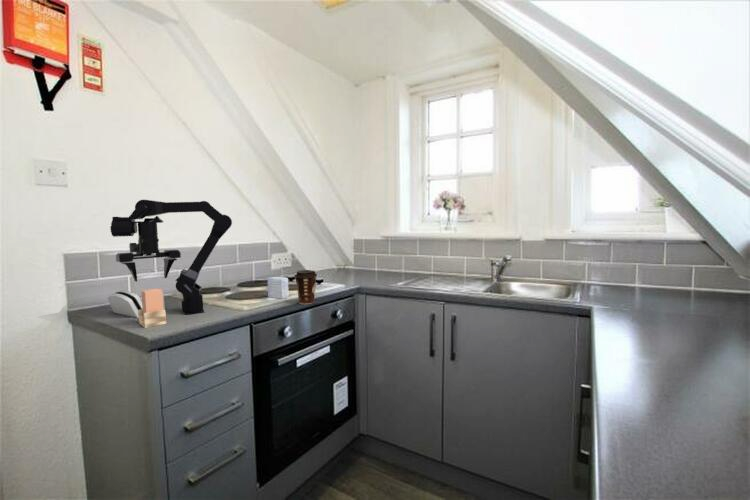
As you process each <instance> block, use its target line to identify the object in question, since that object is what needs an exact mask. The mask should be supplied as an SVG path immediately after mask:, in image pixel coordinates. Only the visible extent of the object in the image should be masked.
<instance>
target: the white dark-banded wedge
mask: <svg viewBox="0 0 750 500" xmlns="http://www.w3.org/2000/svg"><path fill="white" fill-rule="evenodd" d="M107 301H108V303H109V305H110V307H111V309H112V312H113V313H114V314H118V315H123V316H128V317H132V318H138V319H139V317H138V310H141V309H143V306H142V299H141V298H140V296H139V295H137V293H133V292H131V291H129V290H118V291H116V292H114V293H111V294H110V295H108V297H107Z"/></svg>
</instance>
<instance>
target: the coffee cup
mask: <svg viewBox="0 0 750 500" xmlns="http://www.w3.org/2000/svg"><path fill="white" fill-rule="evenodd" d="M317 276H318V275H317V273H316V271H315V270H311V269H305V270H304V269H303V270H298V271H297V272H296V274H295V275H294V278H295V282H296V287H297V288H296V289H297V298H298V304H299V305H311V304H314V303H315V295H316V289H317V288H316V286H317V285H316V284H317V281H316V278H317Z"/></svg>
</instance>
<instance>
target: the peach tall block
mask: <svg viewBox="0 0 750 500" xmlns="http://www.w3.org/2000/svg"><path fill="white" fill-rule="evenodd" d="M140 292H141V301H142V306H143V313H148V312H154V311H160V310H165V311H166V309H165V295H164V294H163V293H164V292H163V289H161V288H153V289H146V290H141V291H140ZM143 321H144V315H143Z"/></svg>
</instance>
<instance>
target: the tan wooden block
mask: <svg viewBox="0 0 750 500" xmlns="http://www.w3.org/2000/svg"><path fill="white" fill-rule="evenodd" d="M166 311H167V310H166V309H165V310H160V311H154V312H148V313H143V309H141V310H138V317H139V318H138V324H140V325H141V326H142V327H143V328H144V329H145V328H146V329H147V328H151V327H156V326H157V327H158V326H161V325H165V324H166V325H167V313H166ZM143 315H144V321H143Z"/></svg>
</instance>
